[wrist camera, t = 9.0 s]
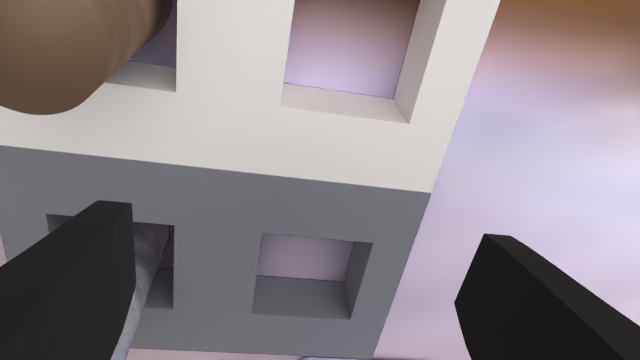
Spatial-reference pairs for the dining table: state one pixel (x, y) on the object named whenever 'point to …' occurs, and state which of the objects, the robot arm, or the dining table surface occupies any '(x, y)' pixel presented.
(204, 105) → the white grey peg board
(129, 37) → the walnut pin
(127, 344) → the pin
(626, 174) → the dining table surface
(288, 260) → the dining table surface
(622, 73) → the dining table surface
